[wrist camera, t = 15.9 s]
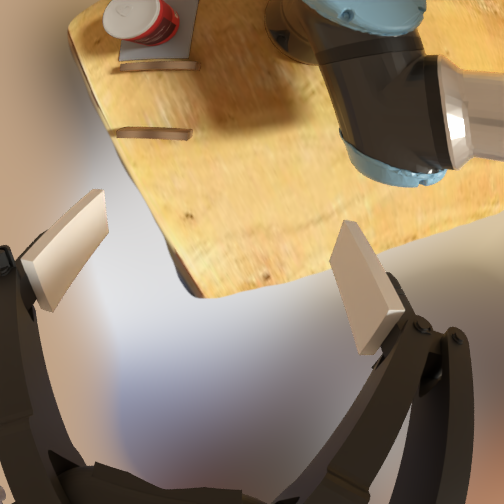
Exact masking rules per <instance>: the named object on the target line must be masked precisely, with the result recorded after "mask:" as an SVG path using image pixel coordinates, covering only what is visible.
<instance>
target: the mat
mask: <svg viewBox="0 0 504 504" xmlns="http://www.w3.org/2000/svg"><path fill="white" fill-rule="evenodd" d="M163 1H165V2H166V3H167V4H168V5H169V6H171V7H172V8H173V9H174V10H175V11H176V12H177V14H178V16H179V28H178V30H177V32H176V34H175V35H174V36H173V37H172V38H171V39H170V40H169V41H167V42H165V43H163V44H160V45H156V46H146V45H142V44H138V43H134V42H130V41H126V40H122V41H121V48H120V56H119V61H127V60H140V59H160V58H189V53H190V46H191V40H192V34H193V28H194V23H195V17H196V12H197V7H198V2H199V0H163Z"/></svg>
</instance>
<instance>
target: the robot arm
mask: <svg viewBox="0 0 504 504" xmlns="http://www.w3.org/2000/svg"><path fill="white" fill-rule="evenodd" d="M425 11H426V0H270V1H269V3H268V5H267V8H266V12H265V27H266V31H267V33H268V36H269V37H270V39H271V41H272V42H273V44H274V45H275V46H276V47H277V48H278V49H279V50H280V51H281V52H282V53H284V54H285V55H287V56H288V57H290V58H292V59H294V60H296V61H298V62H301V63H304V64H308V65H315V66H319V68H320V71H321V73H322V76H323V78H324V81H325V84H326V87H327V89H328V92H329V95H330V98H331V101H332V104H333V107H334V110H335V113H336V116H337V120H338V123H339V126H340V128H339V133H340V136H341V138H342V140H343V142H344V143H345V146H346V149H347V152H348V155H349V158H350V161H351V162H352V164H353V165H354V166H355V168H356V169H357V170H358V171H359V172H360V173H362V174H363V175H364V176H366V177H368V178H370V179H372V180H374V181H377V182H380V183H383V184H387V185H391V186H398V187H418V185H419V184H422V185H424V186H429V185H432V184H435V183H437V182H438V181H440V180H441V179H442V178H443V177H444V176H445V174H446V171H447V169H451V170H460V169H461V168H462V167H463V166H464V165H465V164H466V163H467V162H468V161H469V160H470V159H472V158H474V157H476V158H483V159H489V160H495V161H501V162H504V73H495V72H485V71H470V70H463V69H460V68H459V67H457V66H456V65H455V64H454V63H453V62H451V61H450V60H449V59H448V58H446V57H445V56H444V55H426V54H425V51H424V48H423V44H422V41H421V38H420V36H419V33H418V30H417V27H418V26H419V25H420V23H421V22H422V20H423V13H424V12H425ZM107 223H108V222H107V214H106V206H105V195H104V190H100V189H93V190H91V191H90V192H89V193H88V194H87V195H85V196H84V197H83V198H82V199H81V200H79V201H78V202H77V203H76V204H75V205H74V206H73V207H72V208H71V209H69V210H68V211H67V212H66V213H65V214H64V215H63V216H62V217H61V218H60V219H59V220H58V221H56V222H55V223H54V224H53V225H52V226H51V227H50V228H49V229H48V230H46V231H45V232H43V233H42V234H40V235H39V236H38V237H37V238H36V239H35V240H34V242H32V243H31V244H30V245H29V247H27V248H26V250H25V251H24V252H23V253H22V254H21V255H20V256H19V257H18V259H17V260H16V261H14V258H13V255H12V252H11V249H10V247H9V246H7V245H3V246H0V462H1V465H2V468H3V471H4V474H5V477H6V479H7V482H8V484H9V487H10V490H11V492H12V495H13V497H14V499H15V502H14V503H12V504H267V503H265V502H263V501H261V500H259V499H257V498H254V497H252V496H249V495H245V494H242V490H229V489H216V488H207V487H203V488H202V487H201V488H189V489H172V490H171V489H170V490H168V489H167V490H166V489H162V488H159V487H157V486H155V485H153V484H150V483H148V482H146V481H144V480H142V479H140V478H138V477H136V476H134V475H132V474H131V473H129V472H126V471H122V470H119V469H116V468H113V467H110V466H107V465H104V464H101V463H98V462H95V465H94V466H86V464H85V462H84V460H83V458H82V457H81V455H80V454H79V452H78V451H77V450H76V448H75V447H74V446H73V444H72V442H71V440H70V438H69V436H68V434H67V431H66V428H65V426H64V423H63V420H62V418H61V415H60V412H59V409H58V406H57V403H56V400H55V397H54V394H53V391H52V387H51V384H50V380H49V376H48V373H47V369H46V365H45V360H44V356H43V351H42V346H41V341H40V336H39V330H38V324H37V317H36V310H35V308H34V306H33V304H34V302H35V301H36V299H37V301H38V303H39V305H40V307H41V309H43V310H46V311H49V312H54V310H55V309H56V307H57V306H58V304H59V302H60V301H61V299H62V298H63V296H64V294H65V293H66V291H67V290H68V288H69V287H70V285H71V284H72V282H73V281H74V279H75V278H76V276H77V275H78V273H79V272H80V271H81V269H82V268H83V266H84V265H85V264H86V262H87V261H88V259H89V258H90V257H91V255H92V254H93V253H94V251H95V250H96V249H97V247H98V246H99V245H100V243H101V242H102V241H103V239H104V238H105V237H106V236H107V234H108V233H109V230H108V224H107ZM329 262H330V265H331V267H332V270H333V273H334V276H335V279H336V282H337V285H338V288H339V291H340V294H341V297H342V300H343V303H344V307H345V310H346V313H347V316H348V319H349V323H350V326H351V329H352V333H353V336H354V340H355V343H356V347H357V350H358V354H359V355H374V354H375V353H376V351H377V350H378V349H379V347H380V346H381V348H382V352H383V354H382V355H381V356H380V358H379V359H378V360H377V362H376V363H375V364H374V365H373V366H372V369H373V371H372V372H371V374H370V376H369V378H368V379H367V381H366V383H365V385H364V386H363V388H362V390H361V391H360V393H359V395H358V396H357V398H356V400H355V401H354V403H353V404H352V406H351V408H350V409H349V411H348V412H347V414H346V415H345V417H344V418H343V420H342V421H341V423H340V424H339V425H338V427H337V428H336V430H335V431H334V433H333V434H332V435H331V437H330V438H329V440H328V441H327V442H326V444H325V445H324V446H323V448H322V449H321V450H320V452H319V453H318V454H317V455H316V457H315V458H314V459H313V460H312V462H311V463H310V464H309V466H307V468H306V469H305V470H304V471H303V472H302V474H301V475H300V476H299V477H298V478H297V479H296V480H295V481H294V482H293V483H292V484H291V485H290V486H288V487H287V488H286V489H285V490H284V491H283V492H282V493H281V494H280V495H279V496H278V497H277V498H276V499H275V500H274V501H273V502H272V503H271V504H368V502H369V500H370V494H369V491H368V490H369V487H370V485H371V483H372V481H373V480H374V478H375V477H376V475H377V473H378V471H379V470H380V468H381V466H382V465H383V463H384V461H385V459H386V457H387V455H388V453H389V451H390V450H391V447H392V445H393V444H394V442H395V439H396V437H397V435H398V433H399V431H400V429H401V427H402V424H403V422H404V420H405V418H406V415H407V413H408V410H409V408H410V405H411V403H412V406H411V414H410V420H409V426H408V432H407V437H406V442H405V447H404V452H403V456H402V460H401V464H400V468H399V472H398V476H397V479H396V483H395V486H394V490H393V493H392V496H391V499H390V502H389V504H465V501H466V496H467V491H468V485H469V478H470V472H471V463H472V453H473V439H474V392H473V378H472V366H471V358H470V349H469V342H468V339H467V337H466V335H465V334H464V332H462V331H461V330H460V329H458V328H456V327H450V328H449V329H448V330H447V331H446V332H445V334H442V333H439V332H436V331H433V328H432V326H431V324H430V323H429V322H428V321H427V320H426V319H424V318H423V317H421V316H419V315H415V313H414V311H413V309H412V307H411V305H410V303H409V301H408V299H407V297H406V295H405V293H404V292H403V290H402V289H401V286H400V284H399V282H398V281H397V279H396V278H395V277H394V276H393V275H392V274H391V273H389V272H385V270H384V269H383V267H382V265H381V263H380V261H379V260H378V258H377V256H376V254H375V252H374V251H373V249H372V247H371V246H370V244H369V242H368V241H367V239H366V237H365V236H364V234H363V232H362V231H361V229H360V227H359V226H358V224H357V223H356V222H353V221H348V220H343V223H342V226H341V229H340V232H339V235H338V238H337V241H336V244H335V246H334V249H333V252H332V255H331V257H330V260H329ZM5 498H6V494H5V491H4V489H3V488H2V487H1V486H0V504H3V503H2V500H5Z"/></svg>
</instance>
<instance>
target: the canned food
mask: <svg viewBox="0 0 504 504" xmlns="http://www.w3.org/2000/svg"><path fill="white" fill-rule="evenodd" d="M103 27H104V29H105V31H106V32H107V33H108V34H109V35H111V36H113V37H115V38H118V39H121V40H126V41H130V42H134V43H138V44H142V45H146V46H156V45H160V44H163V43H165V42H167V41H169V40H170V39H171V38H172V37H173V36H174V35H175V34H176V32H177V30H178V28H179V16H178V14H177V12H176V11H175V10H174V9H173V8H172V7H171V6H169V5H168V4H167V3H166V2H165V1H163V0H112V1H111V2H110V3H109V4H108V6H107V7H106V9H105V11H104V14H103Z"/></svg>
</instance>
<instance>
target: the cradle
mask: <svg viewBox="0 0 504 504" xmlns="http://www.w3.org/2000/svg"><path fill="white" fill-rule="evenodd" d="M200 64H201V63H198V62H192V61H159V62H138V63H126V64H121V66H120V71H140V70H200ZM192 132H193V129H180V128H159V127H124V128H122V129H120V130H117V138H149V139H170V140H185V141H187V140H188V139H190V138H191V137H192Z"/></svg>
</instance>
